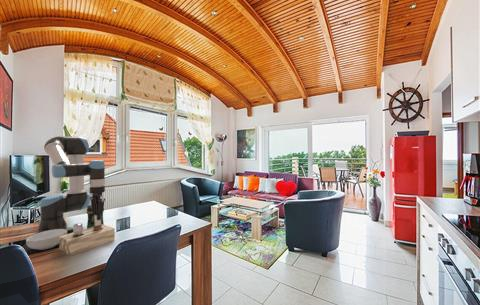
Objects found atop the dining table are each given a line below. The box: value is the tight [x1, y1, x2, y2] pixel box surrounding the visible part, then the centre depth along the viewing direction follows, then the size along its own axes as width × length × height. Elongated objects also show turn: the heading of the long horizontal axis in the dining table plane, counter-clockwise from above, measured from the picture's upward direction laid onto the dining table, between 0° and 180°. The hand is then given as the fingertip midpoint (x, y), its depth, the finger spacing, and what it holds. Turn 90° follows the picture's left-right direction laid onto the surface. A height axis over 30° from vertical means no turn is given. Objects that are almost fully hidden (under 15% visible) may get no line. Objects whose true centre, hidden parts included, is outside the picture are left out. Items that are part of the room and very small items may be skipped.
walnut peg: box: [94, 225, 102, 231], centre depth 123 cm, size 4×4×7 cm
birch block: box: [58, 224, 116, 256], centre depth 119 cm, size 14×22×7 cm, turn 150°
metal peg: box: [72, 222, 84, 238], centre depth 115 cm, size 4×4×7 cm
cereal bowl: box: [25, 228, 68, 251], centre depth 116 cm, size 17×17×7 cm
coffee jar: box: [86, 204, 105, 229], centre depth 137 cm, size 10×8×19 cm
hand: (97, 225), depth 123 cm, fingers closed
